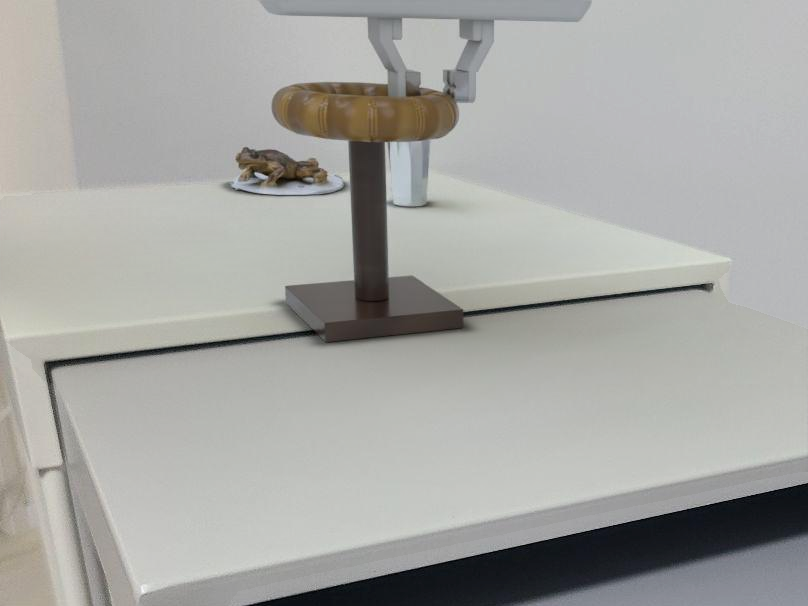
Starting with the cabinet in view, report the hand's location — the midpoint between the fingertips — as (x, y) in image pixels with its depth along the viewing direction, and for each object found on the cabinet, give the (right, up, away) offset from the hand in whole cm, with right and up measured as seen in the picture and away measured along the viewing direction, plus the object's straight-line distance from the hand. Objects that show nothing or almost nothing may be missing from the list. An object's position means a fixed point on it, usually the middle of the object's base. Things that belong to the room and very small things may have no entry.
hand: (431, 102), depth 65 cm
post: (-4, -12, +4) cm, 14 cm away
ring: (-4, -1, -2) cm, 4 cm away
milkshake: (-6, +6, +38) cm, 39 cm away
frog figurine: (-19, +9, +44) cm, 49 cm away
